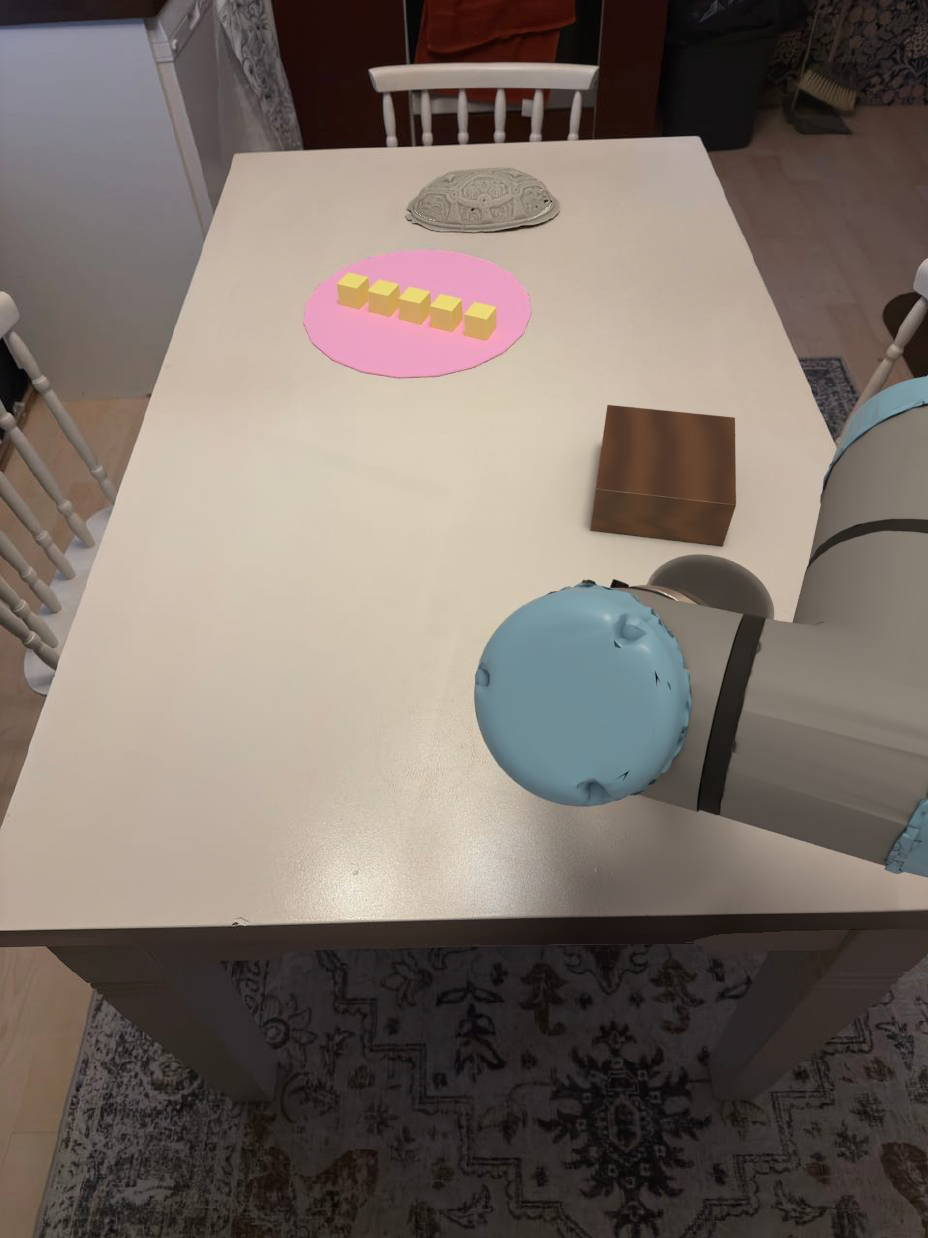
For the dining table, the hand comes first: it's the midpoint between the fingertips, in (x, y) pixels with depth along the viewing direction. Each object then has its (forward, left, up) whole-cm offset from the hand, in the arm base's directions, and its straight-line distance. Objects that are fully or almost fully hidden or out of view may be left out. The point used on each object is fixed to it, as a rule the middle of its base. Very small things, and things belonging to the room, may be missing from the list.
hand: (701, 634), depth 62 cm
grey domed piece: (+33, -93, -15) cm, 100 cm away
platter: (+37, -63, -15) cm, 75 cm away
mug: (+1, +3, -4) cm, 5 cm away
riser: (+2, -31, -15) cm, 34 cm away
